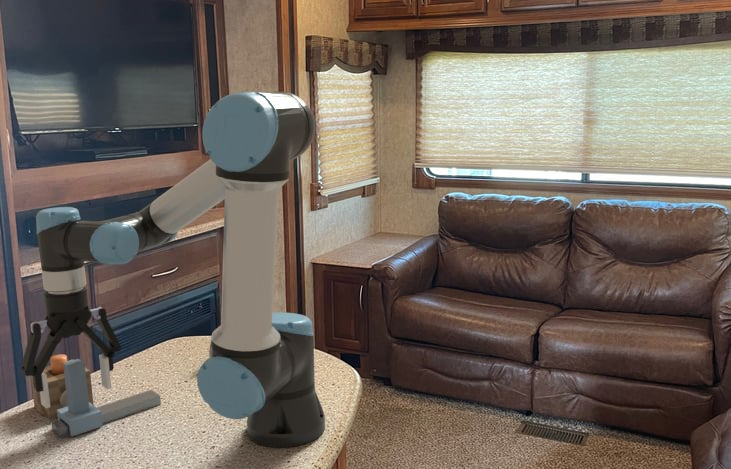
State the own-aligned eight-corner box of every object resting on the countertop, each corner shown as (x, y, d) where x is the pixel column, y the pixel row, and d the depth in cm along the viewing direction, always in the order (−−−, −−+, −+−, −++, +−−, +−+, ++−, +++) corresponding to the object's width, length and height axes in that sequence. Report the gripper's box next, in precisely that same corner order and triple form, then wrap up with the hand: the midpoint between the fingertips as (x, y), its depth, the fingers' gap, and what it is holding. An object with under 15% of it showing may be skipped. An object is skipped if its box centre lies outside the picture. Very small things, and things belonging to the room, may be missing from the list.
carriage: (102, 426, 137) (96, 363, 134) (72, 436, 133) (65, 372, 130) (88, 414, 142) (82, 354, 139) (58, 424, 138) (51, 362, 135)
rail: (160, 404, 147) (160, 395, 147) (60, 438, 133) (58, 429, 133) (152, 398, 150) (151, 389, 150) (52, 431, 136) (51, 422, 135)
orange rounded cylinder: (70, 371, 145) (69, 357, 145) (55, 375, 143) (53, 361, 143) (64, 367, 148) (63, 353, 147) (49, 371, 146) (47, 357, 145)
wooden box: (94, 406, 146) (91, 371, 145) (51, 421, 140) (46, 384, 139) (76, 393, 153) (73, 359, 152) (34, 406, 147) (30, 370, 146)
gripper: (116, 273, 143) (125, 373, 147) (-8, 298, 127) (6, 409, 131) (133, 280, 137) (142, 383, 142) (5, 306, 121) (19, 422, 126)
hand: (77, 396), depth 136 cm, fingers open, 11 cm apart
